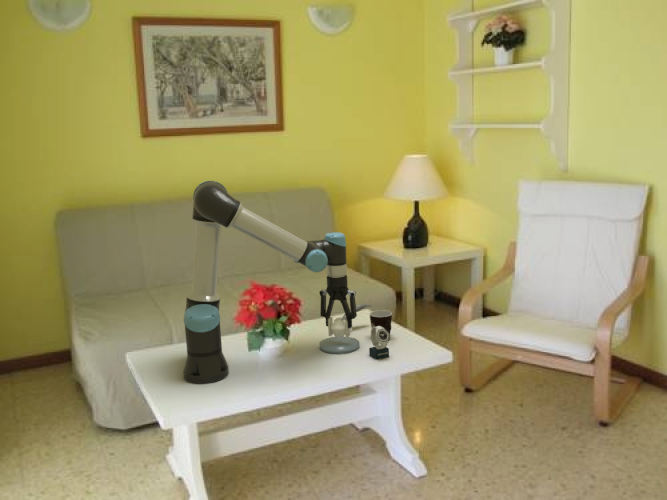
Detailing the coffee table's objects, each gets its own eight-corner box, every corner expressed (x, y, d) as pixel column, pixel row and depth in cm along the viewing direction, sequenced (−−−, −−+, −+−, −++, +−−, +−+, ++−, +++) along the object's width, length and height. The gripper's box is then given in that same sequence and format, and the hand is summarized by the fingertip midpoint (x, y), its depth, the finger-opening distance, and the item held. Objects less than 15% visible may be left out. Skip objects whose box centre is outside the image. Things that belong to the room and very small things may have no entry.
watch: (378, 361, 244) (378, 331, 241) (366, 354, 251) (366, 325, 248) (392, 358, 246) (391, 328, 244) (380, 351, 253) (379, 322, 251)
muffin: (349, 337, 256) (349, 319, 255) (334, 339, 255) (333, 321, 253) (344, 332, 262) (343, 314, 261) (329, 334, 261) (328, 316, 259)
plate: (329, 356, 250) (329, 353, 249) (313, 344, 263) (313, 340, 263) (366, 349, 256) (366, 345, 255) (349, 337, 269) (348, 334, 269)
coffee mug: (369, 335, 271) (369, 310, 269) (392, 334, 271) (391, 310, 269) (370, 345, 260) (369, 319, 258) (393, 344, 260) (393, 319, 257)
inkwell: (326, 329, 280) (325, 305, 278) (367, 322, 287) (366, 299, 285) (335, 335, 272) (334, 311, 270) (376, 328, 278) (376, 304, 276)
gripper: (364, 273, 254) (366, 334, 259) (316, 271, 260) (319, 330, 265) (358, 279, 247) (360, 340, 252) (308, 276, 254) (311, 336, 258)
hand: (339, 335), depth 258 cm, fingers closed on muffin, 6 cm apart
